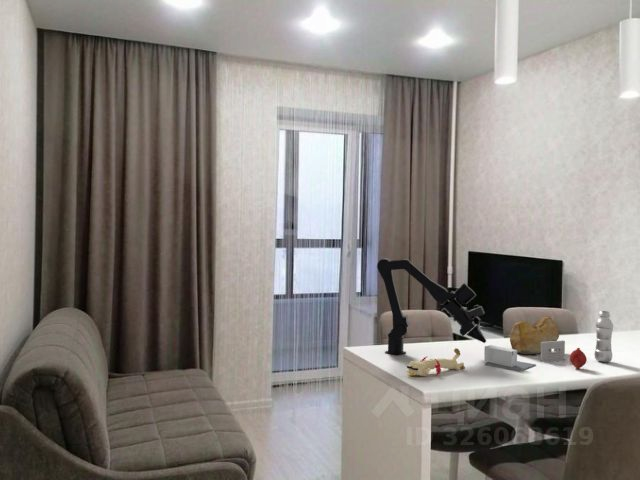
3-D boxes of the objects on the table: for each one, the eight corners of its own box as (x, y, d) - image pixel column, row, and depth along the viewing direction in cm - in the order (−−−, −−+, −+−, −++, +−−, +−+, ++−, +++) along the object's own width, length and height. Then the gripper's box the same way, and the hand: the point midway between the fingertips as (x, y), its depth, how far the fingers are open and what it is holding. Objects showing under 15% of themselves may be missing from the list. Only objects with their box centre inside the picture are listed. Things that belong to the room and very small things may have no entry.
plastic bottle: (610, 360, 227) (612, 311, 227) (613, 364, 220) (615, 313, 220) (593, 359, 229) (594, 310, 229) (595, 362, 223) (596, 312, 222)
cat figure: (448, 369, 213) (398, 371, 199) (450, 346, 213) (400, 347, 199) (468, 375, 205) (418, 378, 191) (470, 351, 205) (420, 352, 191)
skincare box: (490, 359, 222) (517, 366, 213) (483, 361, 219) (511, 368, 210) (490, 344, 222) (518, 350, 213) (483, 345, 219) (511, 351, 210)
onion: (566, 366, 215) (566, 345, 215) (580, 366, 215) (581, 345, 215) (574, 370, 209) (574, 349, 209) (589, 370, 210) (589, 349, 209)
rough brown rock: (534, 347, 256) (532, 314, 256) (565, 351, 241) (563, 316, 242) (496, 353, 245) (494, 318, 246) (526, 357, 230) (523, 320, 231)
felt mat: (520, 371, 206) (520, 370, 206) (484, 364, 215) (484, 363, 215) (535, 365, 216) (535, 364, 216) (501, 359, 226) (501, 358, 226)
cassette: (561, 359, 229) (562, 340, 229) (565, 360, 227) (566, 341, 227) (539, 361, 224) (539, 341, 224) (542, 362, 222) (543, 342, 222)
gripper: (468, 301, 216) (498, 332, 211) (475, 296, 233) (503, 325, 229) (447, 320, 219) (476, 351, 215) (456, 314, 236) (482, 342, 232)
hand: (485, 342), depth 222 cm, fingers closed
